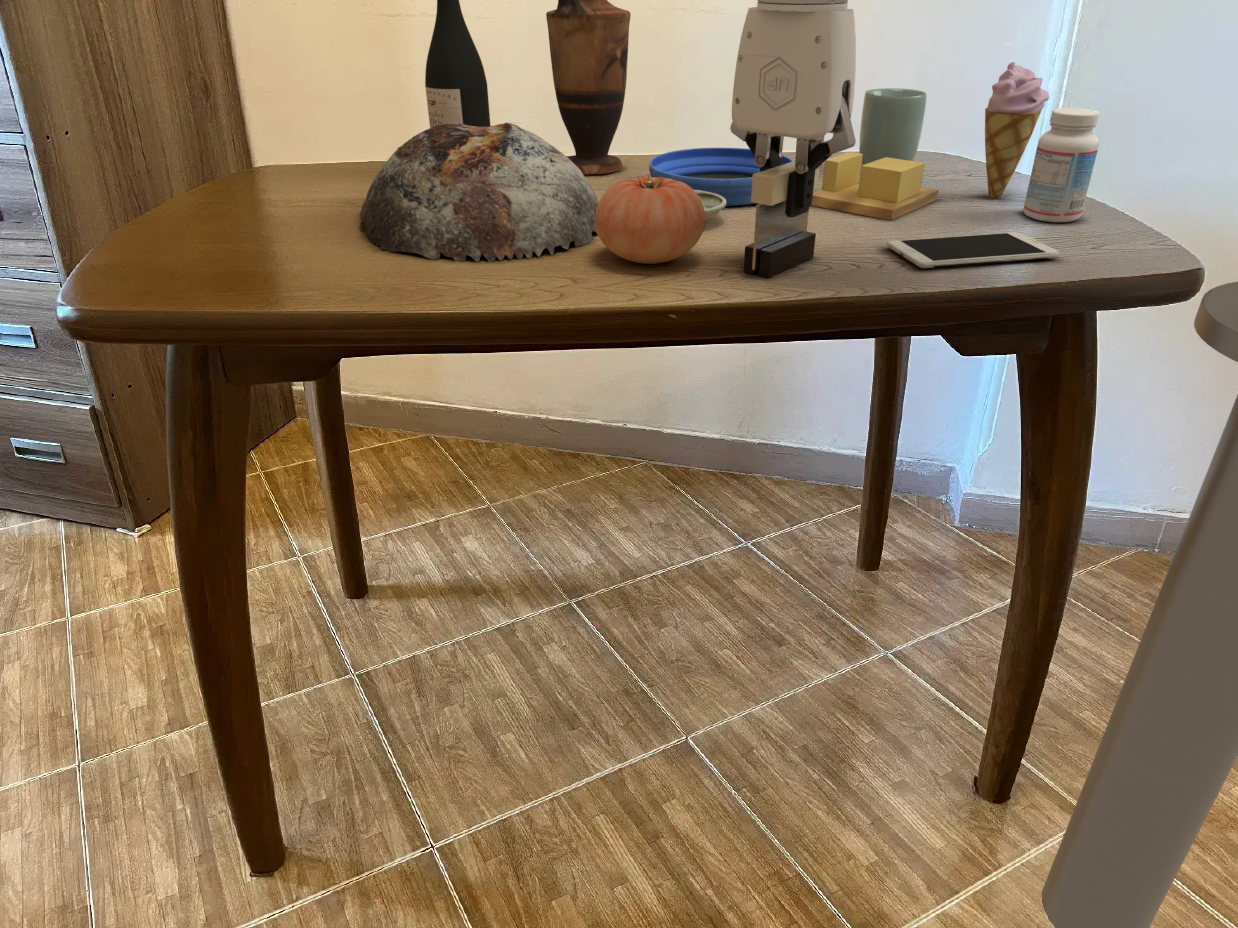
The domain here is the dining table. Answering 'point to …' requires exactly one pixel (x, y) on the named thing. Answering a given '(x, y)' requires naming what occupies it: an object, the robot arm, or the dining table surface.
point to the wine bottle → (455, 72)
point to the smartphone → (971, 249)
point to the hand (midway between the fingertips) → (783, 210)
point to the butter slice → (841, 171)
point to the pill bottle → (1063, 166)
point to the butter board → (871, 202)
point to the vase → (590, 76)
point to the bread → (478, 195)
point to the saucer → (711, 203)
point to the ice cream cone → (1010, 123)
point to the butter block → (890, 179)
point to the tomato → (650, 219)
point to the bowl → (712, 171)
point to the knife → (774, 209)
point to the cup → (891, 124)
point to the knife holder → (781, 255)
